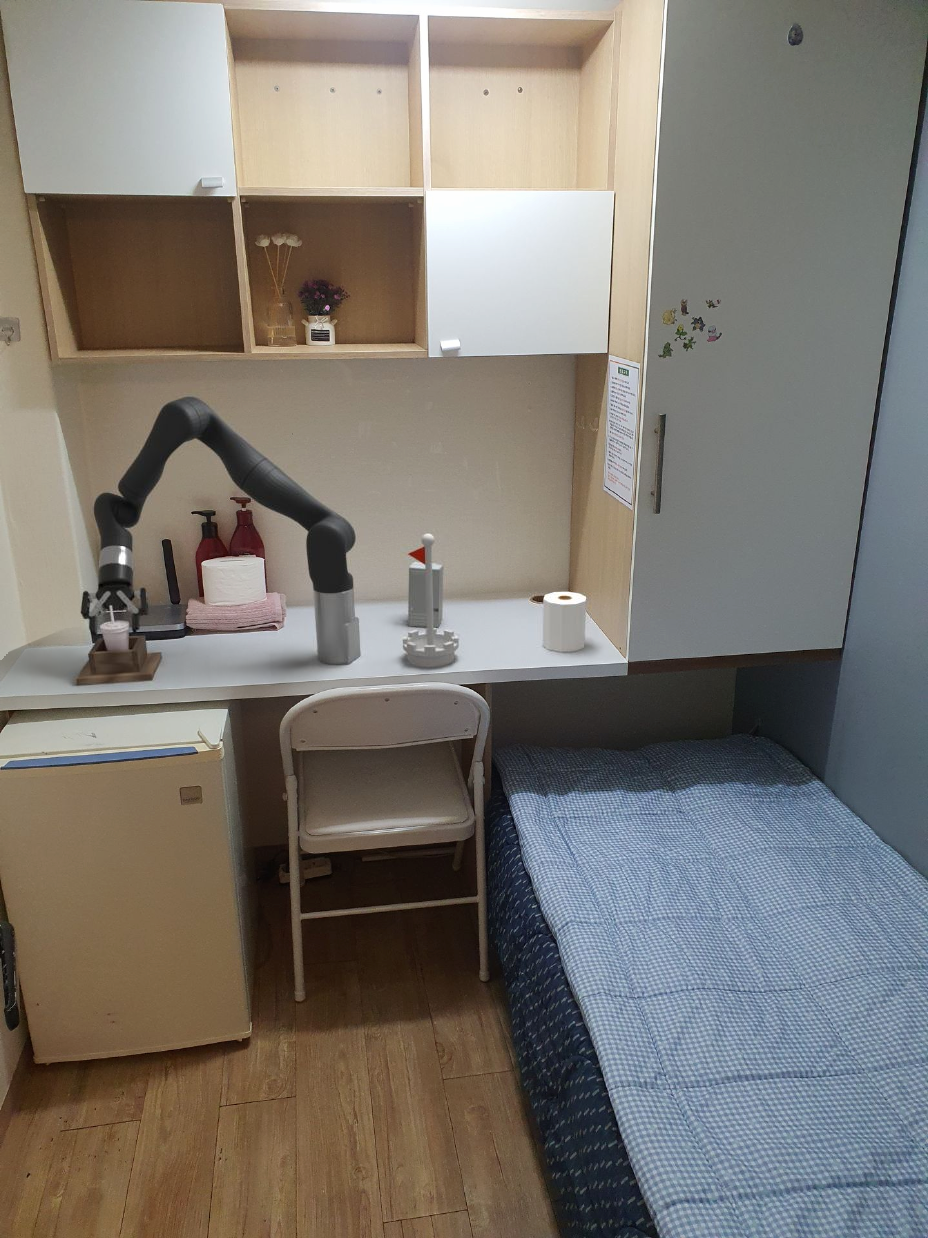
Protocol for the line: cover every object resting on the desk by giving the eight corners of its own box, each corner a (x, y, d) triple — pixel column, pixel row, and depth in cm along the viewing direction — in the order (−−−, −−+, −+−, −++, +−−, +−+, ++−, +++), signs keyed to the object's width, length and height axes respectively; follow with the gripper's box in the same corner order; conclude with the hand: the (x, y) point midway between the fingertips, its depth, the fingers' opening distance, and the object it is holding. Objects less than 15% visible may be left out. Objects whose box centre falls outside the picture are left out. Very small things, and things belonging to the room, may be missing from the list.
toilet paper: (587, 652, 215) (589, 603, 212) (544, 652, 215) (545, 604, 211) (582, 637, 225) (583, 591, 221) (540, 638, 225) (541, 591, 221)
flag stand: (467, 652, 216) (465, 529, 206) (445, 671, 205) (443, 542, 195) (417, 645, 221) (413, 525, 211) (393, 664, 209) (388, 538, 200)
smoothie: (125, 657, 211) (117, 600, 207) (140, 663, 207) (132, 605, 203) (99, 665, 206) (91, 607, 202) (114, 671, 203) (106, 612, 198)
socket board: (161, 657, 215) (158, 632, 213) (152, 680, 202) (148, 653, 200) (91, 662, 213) (87, 636, 210) (76, 685, 199) (72, 657, 197)
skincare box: (408, 627, 234) (406, 567, 229) (413, 618, 241) (411, 560, 236) (440, 628, 233) (439, 568, 228) (444, 619, 239) (443, 561, 234)
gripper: (79, 563, 206) (76, 627, 199) (145, 559, 208) (144, 622, 201) (87, 579, 212) (85, 642, 205) (150, 575, 215) (150, 637, 208)
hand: (114, 632), depth 203 cm, fingers open, 8 cm apart
